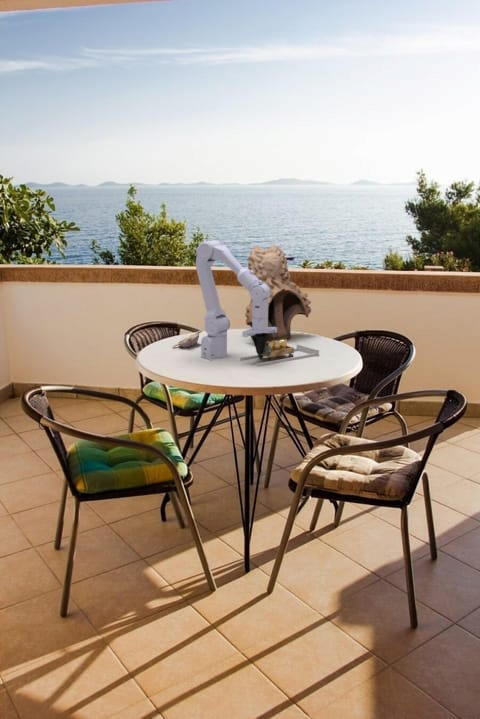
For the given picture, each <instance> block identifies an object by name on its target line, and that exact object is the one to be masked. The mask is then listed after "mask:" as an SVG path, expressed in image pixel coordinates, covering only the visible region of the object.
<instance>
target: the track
mask: <svg viewBox="0 0 480 719" xmlns="http://www.w3.org/2000/svg"><path fill="white" fill-rule="evenodd" d="M295 352H302V353H305V354H303V355H298V356H294V357H291V358H288V357H287V358H281V359H276V360H274V361H271V360H268V361H264V362H259V363H256V367H261V366H266V365H273V364H279V363H285V362H289V361H296V360H300V359H306V358H312V357H319V356H320V349H316V348H313V347H311V346H307V345H303V344H299V343H297V344H296V348H294V353H295ZM264 357H266V356H263V357H262V358H264ZM253 359H260V358H259V357H258V354H256V355H249V356H243V357H239V361H247V360H253Z"/></svg>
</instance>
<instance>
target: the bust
mask: <svg viewBox="0 0 480 719" xmlns="http://www.w3.org/2000/svg"><path fill="white" fill-rule="evenodd" d="M285 256H286V253H285V252H284V251H282V249H281V248H280V247H279V246H277V245H276V244H272V245H270V246H269V248H268V249H265V248H263V247H261V246H258V245H256V246H255V247H253V250H251V251H250V253H249V256H247V257H248V261H247V265H248V267H247V269H249V270H252V271H253V272H254V273H253V274H254V275H255V276H256V277H257V278H258V279H259V280H261V281H262V283H266V284H268V286H269V287H270V289H271V295H270V297H269V298H267V299H268V327H277V333H267V335H269V339H268V340H267V341H272V340H279V339H287V341H288V340H290V339H292V336H291V335H292V333H291V332H292V331H291V323H292V321H293V318H294V317H295V316H297V315H302V316H305V317H306V318H309V315H310V313H311V312H312V308H311V307H310V306H309V305H311V303H312V301H311V300H309V299H308V297H309V296H308V293H307V292H304V291H302V290H301V288H300V286H297V284H296V283H295V282H293V281H292V279H291V278H292V277H291V274H290V271H289V269H288V265H287V263H288V260H287V257H285ZM245 310H246V312H245V313H244V316H245V317H246V319H245V324H246V325H247V326H250V328H252V312H253V301H252V299H251V298H250V302H249V304H248V305H247V306H246V308H245Z"/></svg>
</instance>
